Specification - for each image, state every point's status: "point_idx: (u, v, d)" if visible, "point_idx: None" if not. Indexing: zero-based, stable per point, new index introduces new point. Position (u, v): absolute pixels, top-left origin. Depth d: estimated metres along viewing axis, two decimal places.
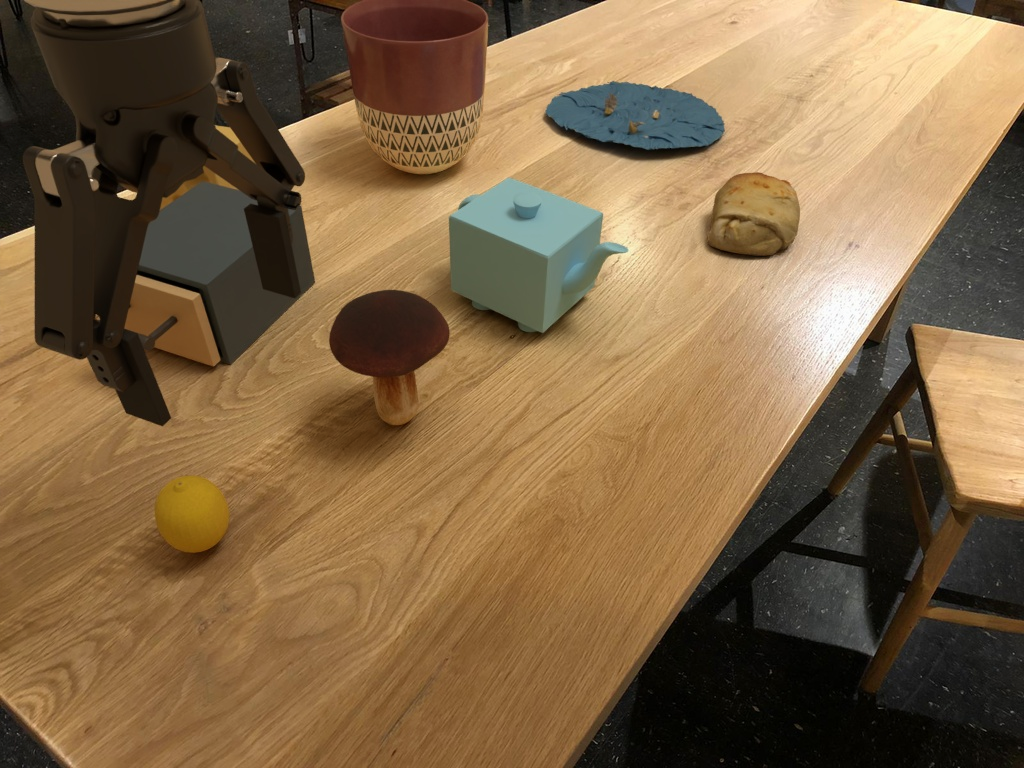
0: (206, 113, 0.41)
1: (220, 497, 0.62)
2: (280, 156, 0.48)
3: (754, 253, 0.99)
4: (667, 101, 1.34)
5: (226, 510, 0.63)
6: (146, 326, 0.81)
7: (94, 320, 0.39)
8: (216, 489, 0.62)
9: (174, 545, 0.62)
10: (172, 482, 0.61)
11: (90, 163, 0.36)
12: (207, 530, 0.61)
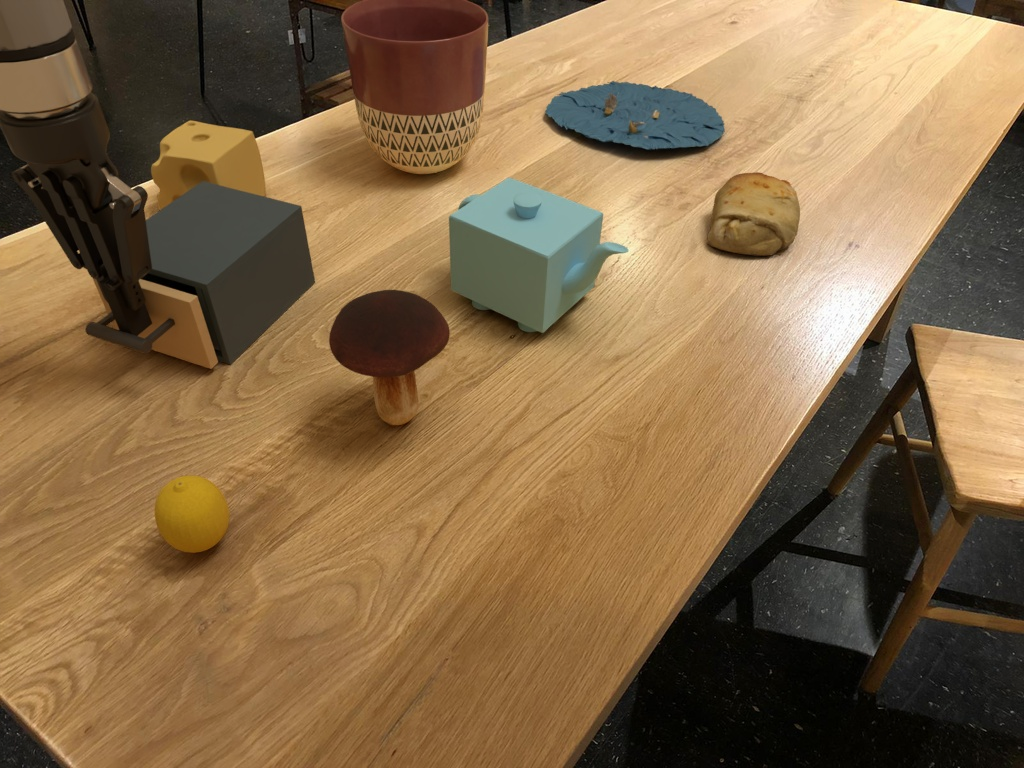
0: None
1: (220, 497, 0.62)
2: None
3: (754, 253, 0.99)
4: (667, 101, 1.34)
5: (226, 510, 0.63)
6: None
7: None
8: (216, 489, 0.62)
9: (174, 545, 0.62)
10: (172, 482, 0.61)
11: None
12: (207, 530, 0.61)
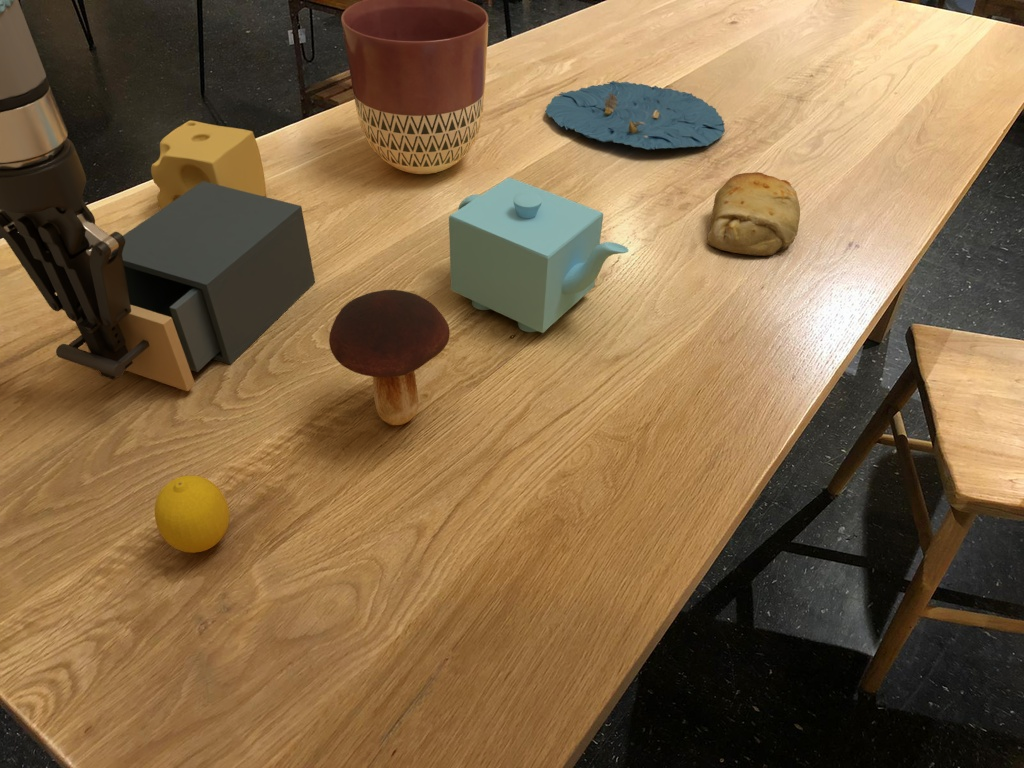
0: None
1: (220, 497, 0.62)
2: None
3: (754, 253, 0.99)
4: (667, 101, 1.34)
5: (226, 510, 0.63)
6: None
7: None
8: (216, 489, 0.62)
9: (174, 545, 0.62)
10: (172, 482, 0.61)
11: None
12: (207, 530, 0.61)
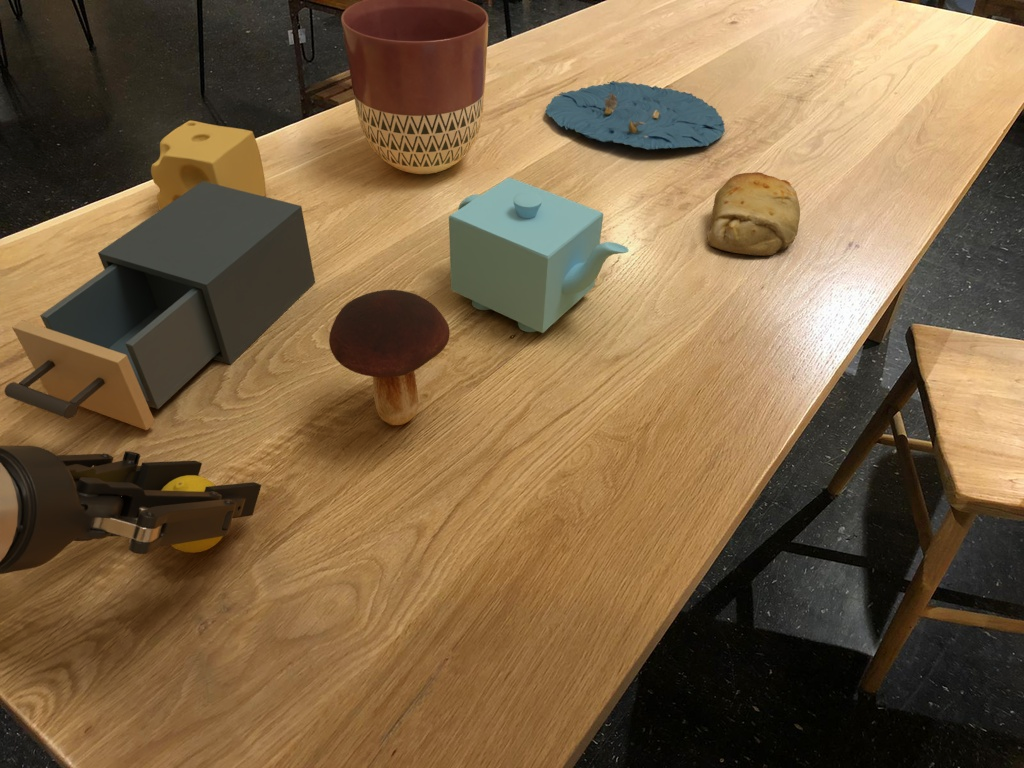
0: None
1: None
2: (83, 459, 0.57)
3: (754, 253, 0.99)
4: (667, 101, 1.34)
5: None
6: (73, 386, 0.74)
7: None
8: None
9: (174, 545, 0.62)
10: (172, 482, 0.61)
11: (125, 518, 0.49)
12: None
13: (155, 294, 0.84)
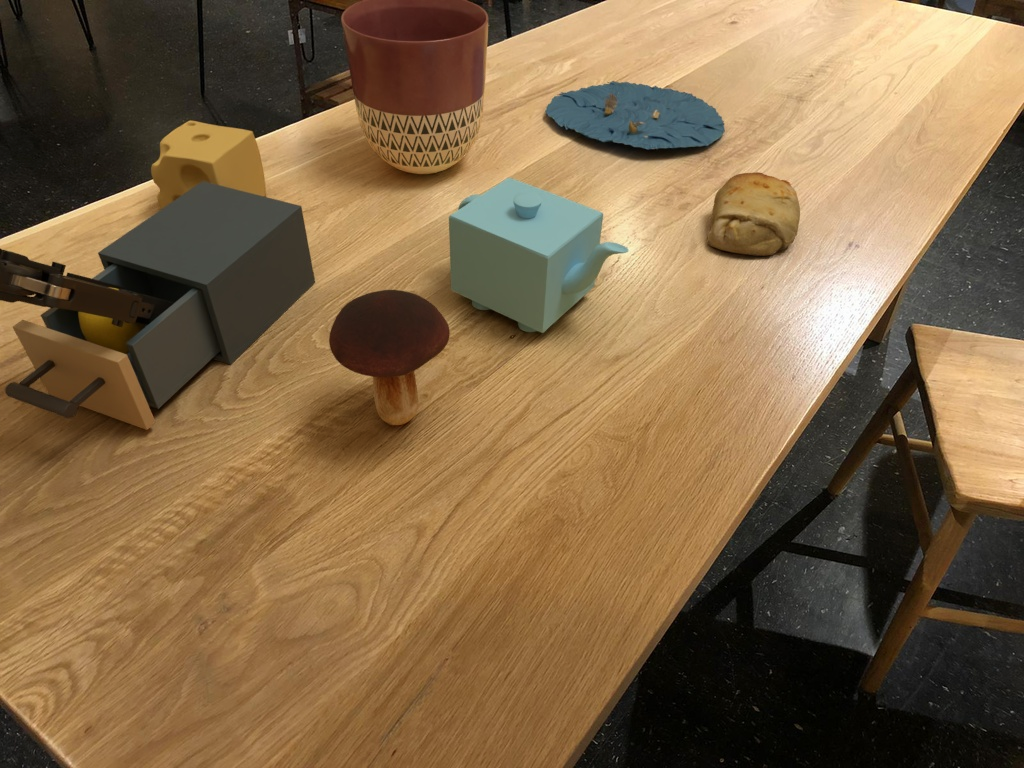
0: None
1: None
2: None
3: (754, 253, 0.99)
4: (667, 101, 1.34)
5: None
6: (73, 386, 0.74)
7: None
8: None
9: None
10: None
11: (39, 280, 0.60)
12: (123, 331, 0.72)
13: (155, 294, 0.84)
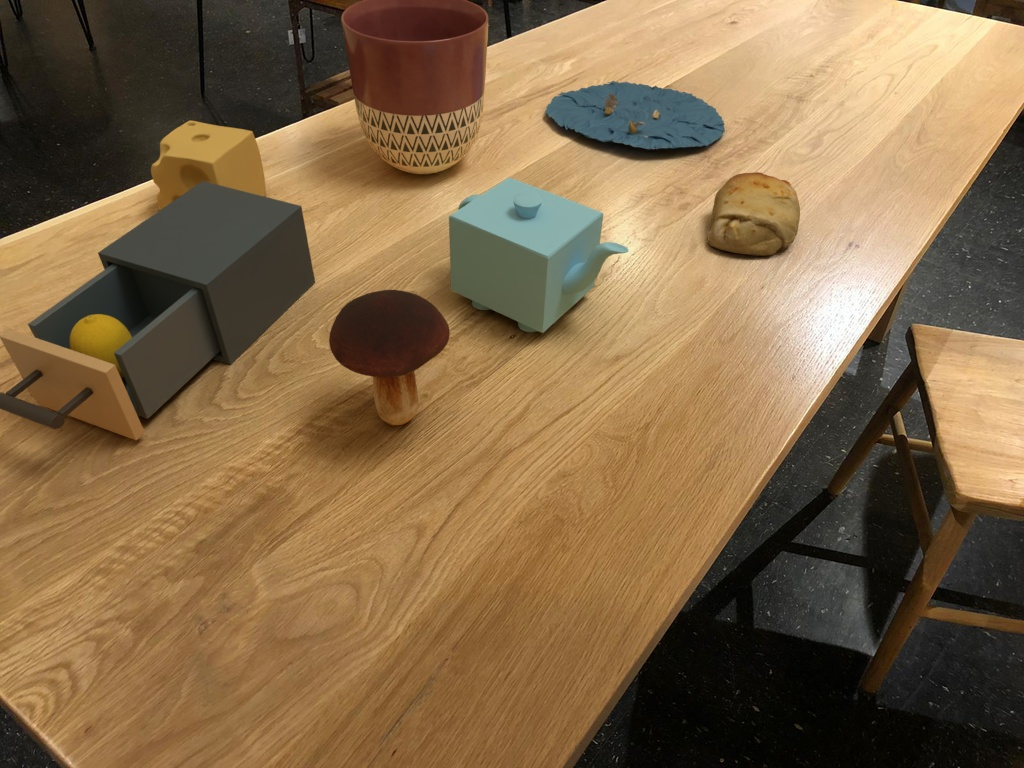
0: None
1: (126, 333, 0.74)
2: None
3: (754, 253, 0.99)
4: (667, 101, 1.34)
5: None
6: (61, 395, 0.73)
7: None
8: (123, 327, 0.74)
9: None
10: (84, 317, 0.73)
11: None
12: (113, 359, 0.73)
13: (146, 301, 0.83)
